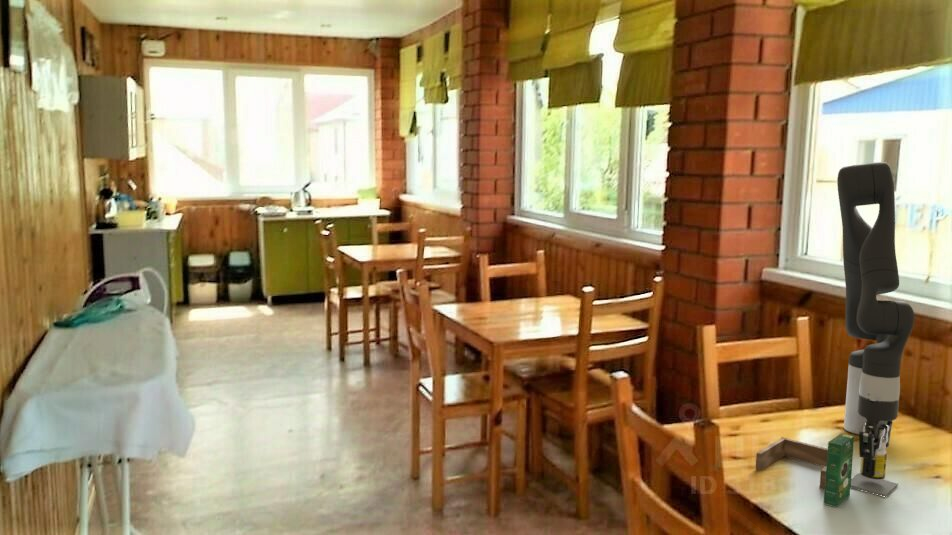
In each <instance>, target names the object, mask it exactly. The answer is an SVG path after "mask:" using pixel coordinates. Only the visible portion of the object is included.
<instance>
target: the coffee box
mask: <svg viewBox="0 0 952 535" xmlns="http://www.w3.org/2000/svg"><path fill="white" fill-rule="evenodd" d="M854 443H855V436H854V435H851V434H847V433H839V434H838V435H837V436H835V437H833V438H832V439H830V440H829V441H828V442H827V449H828V453H827V466H826V479H825V490H824V492H823V495H824V496H823V502H822V503H823V504H824V505H827V506H830V507H833V508H836V507H838V506H840V505H841V504H842V502H844V501H845V500H846V499H848V498H849V497H850V496H851V489H852V488H851V479H852V474H853V458H854V457H853V456H854V445H855V444H854Z"/></svg>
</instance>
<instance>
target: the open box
mask: <svg viewBox="0 0 952 535" xmlns="http://www.w3.org/2000/svg"><path fill="white" fill-rule="evenodd" d="M827 453H828V447H827V448H825V447H823V446H819V445H814V444H811V443H807V442H802V441H798V440H794V439H791V438H786V437H783V436H782V437H780V438H779V439H777V440H776V441H774V442H772V443H771V444H769V445H767V446H766V447H763V448H761V449H760V450H759V451H757V452H756V456H755V457H756V458H755V471H759V472H761V471H762V470H764V469H766V468H767V467H768V466H770V465H772V464H773V463H775V462H776V461H778V460H779V458H780V459H781V458H783V457H788V458H790V457H791V459H795V460H798V461H803V462H805V463H810V464H813V465H816V464H817V466H821V467H823V468H822V469H820V480H819V489H821V490H824V491H825V479H826V466H827ZM782 456H783V457H782Z"/></svg>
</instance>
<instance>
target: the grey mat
mask: <svg viewBox="0 0 952 535" xmlns="http://www.w3.org/2000/svg"><path fill="white" fill-rule="evenodd" d="M897 486H899V484H898V483H896V482H893V481H889V480H886V479H884V480H883V481H880V482H875V481H869V480H866V479H864V478H862V477H861V476H860V472H858V473H857V474H855V475H854V476H853V477H851V488H850V489H853V488H855V489H854V490H857V489H859V490H858V491H860V490H863V491H862V492H864V491H867V492H870V493H869V494H871V493H874V494H873V495H875V494H878V495H882V496H885V497H886V496H887V497H889V495H890V494H891V493H892V492H894V491H895V490H896V487H897ZM867 492H866V493H867ZM878 495H877V496H878ZM882 496H881V497H882ZM885 497H884V498H885ZM887 497H886V498H887Z"/></svg>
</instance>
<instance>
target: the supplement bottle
mask: <svg viewBox="0 0 952 535" xmlns="http://www.w3.org/2000/svg"><path fill="white" fill-rule="evenodd" d="M876 444H877V443H874V445H876ZM885 447H886V441H885V440H883V439H882V444H881V449H879V450H878V451H877V456H876V457H877V458H876V465H875V475H874V476H873V477H870V476H866V475H864V474H863V460H864V458H863V457H860V469H859V470H860V471H859V473H860V476H861V477H862V478H864V479H866V480H869V481H875V482H880V481H883V480H886V469H887V468H886V467H887V454H888V452H887V449H886V450H885ZM886 448H887V447H886ZM867 453H870V452H869V450H868V449H867Z"/></svg>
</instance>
